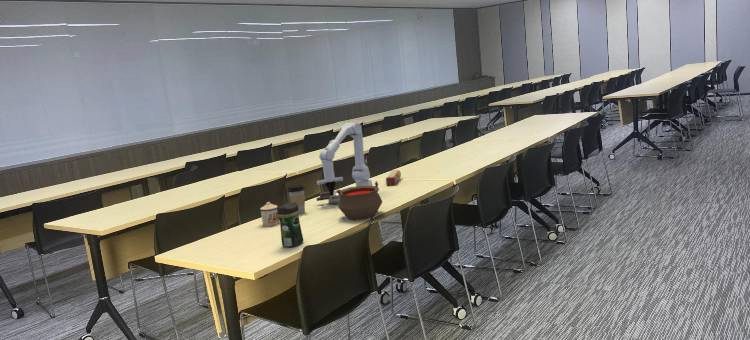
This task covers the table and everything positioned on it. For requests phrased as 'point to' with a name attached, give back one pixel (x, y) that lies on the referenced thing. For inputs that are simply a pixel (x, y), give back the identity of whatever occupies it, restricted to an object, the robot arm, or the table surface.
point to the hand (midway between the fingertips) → (331, 195)
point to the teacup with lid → (269, 215)
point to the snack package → (393, 178)
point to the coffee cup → (297, 197)
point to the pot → (330, 200)
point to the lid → (329, 194)
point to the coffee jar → (290, 225)
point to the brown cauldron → (359, 201)
